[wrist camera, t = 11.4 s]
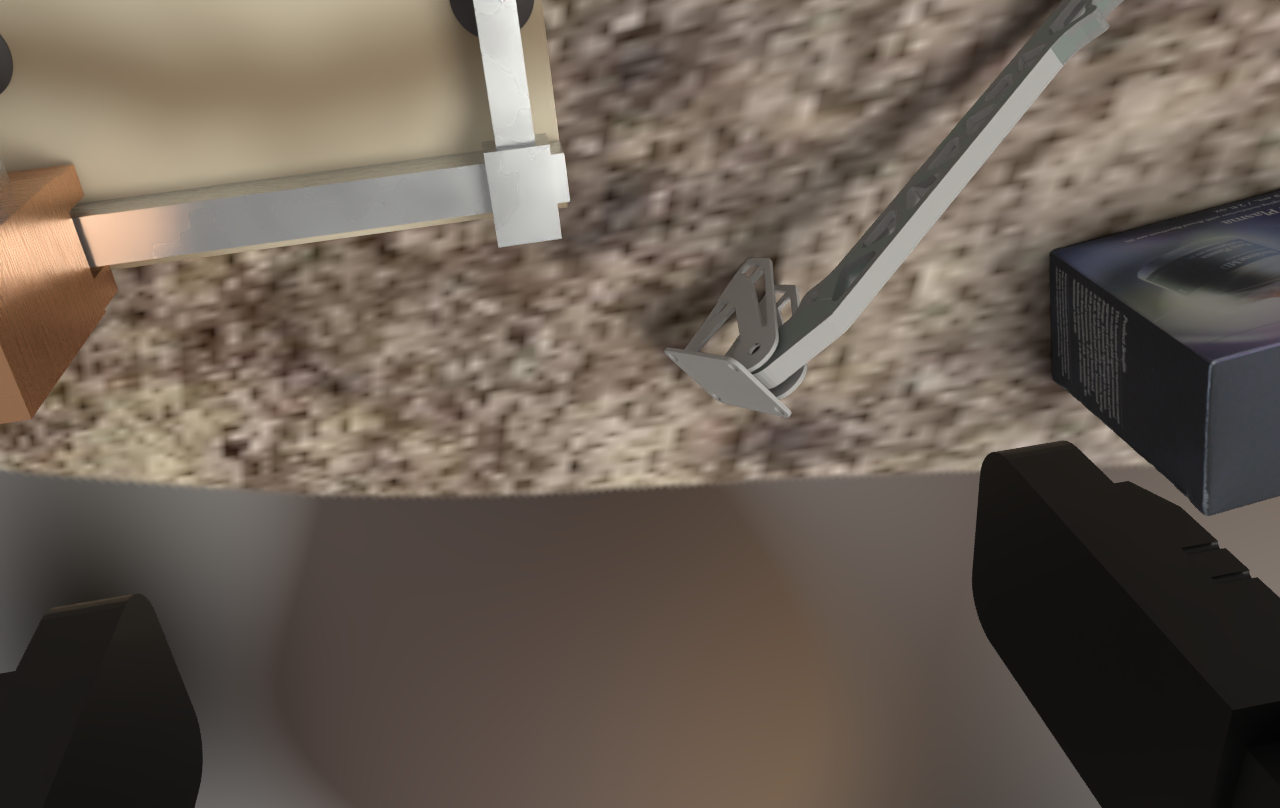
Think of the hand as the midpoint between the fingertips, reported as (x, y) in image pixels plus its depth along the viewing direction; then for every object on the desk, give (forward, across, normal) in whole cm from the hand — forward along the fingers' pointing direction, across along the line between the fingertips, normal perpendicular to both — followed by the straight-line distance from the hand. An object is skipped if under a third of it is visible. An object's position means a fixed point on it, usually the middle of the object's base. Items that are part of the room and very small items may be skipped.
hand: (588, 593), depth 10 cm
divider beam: (+27, +8, +1) cm, 28 cm away
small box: (+28, -26, +12) cm, 40 cm away
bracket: (+28, -15, +4) cm, 32 cm away
